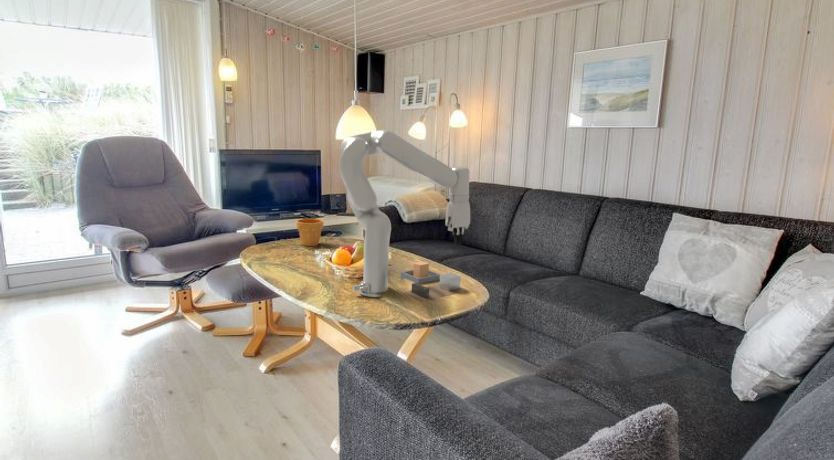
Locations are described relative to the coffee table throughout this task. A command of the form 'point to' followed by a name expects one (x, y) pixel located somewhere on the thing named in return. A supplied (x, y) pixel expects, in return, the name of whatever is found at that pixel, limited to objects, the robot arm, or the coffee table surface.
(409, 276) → the tray
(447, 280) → the grey cube block
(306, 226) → the flower pot
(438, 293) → the slide board
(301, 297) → the coffee table surface
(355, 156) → the robot arm
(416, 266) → the light orange block
